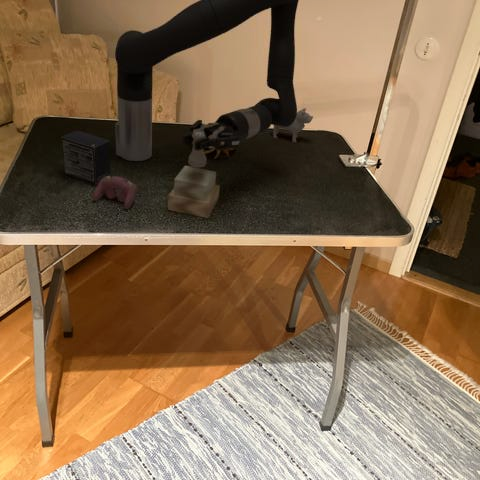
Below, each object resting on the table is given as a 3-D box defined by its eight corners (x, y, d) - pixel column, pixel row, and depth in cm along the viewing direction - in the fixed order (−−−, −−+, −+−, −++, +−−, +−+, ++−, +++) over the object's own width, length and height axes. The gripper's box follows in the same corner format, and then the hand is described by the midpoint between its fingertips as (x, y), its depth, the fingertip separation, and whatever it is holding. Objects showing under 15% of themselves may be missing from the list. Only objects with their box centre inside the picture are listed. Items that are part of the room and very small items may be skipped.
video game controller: (135, 210, 121) (141, 182, 120) (127, 210, 117) (133, 181, 116) (99, 200, 123) (105, 172, 122) (90, 200, 119) (96, 171, 118)
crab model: (245, 156, 151) (247, 139, 148) (209, 163, 144) (211, 145, 141) (217, 136, 161) (219, 120, 158) (183, 142, 154) (184, 125, 151)
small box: (112, 176, 131) (110, 139, 125) (96, 186, 126) (94, 147, 120) (80, 165, 134) (77, 128, 128) (63, 174, 129) (59, 136, 123)
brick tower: (167, 209, 120) (168, 180, 115) (181, 191, 128) (182, 163, 124) (207, 218, 119) (210, 188, 114) (218, 199, 127) (221, 171, 122)
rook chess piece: (203, 169, 115) (205, 137, 111) (185, 166, 116) (186, 134, 111) (208, 161, 119) (210, 130, 114) (190, 158, 119) (192, 127, 115)
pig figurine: (307, 144, 163) (313, 113, 157) (269, 137, 165) (274, 106, 159) (309, 139, 167) (315, 108, 161) (272, 131, 169) (277, 101, 163)
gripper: (218, 103, 125) (168, 117, 113) (262, 120, 118) (213, 138, 106) (216, 131, 129) (167, 148, 117) (258, 149, 122) (211, 169, 111)
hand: (189, 143), depth 112 cm, fingers closed on rook chess piece, 3 cm apart
